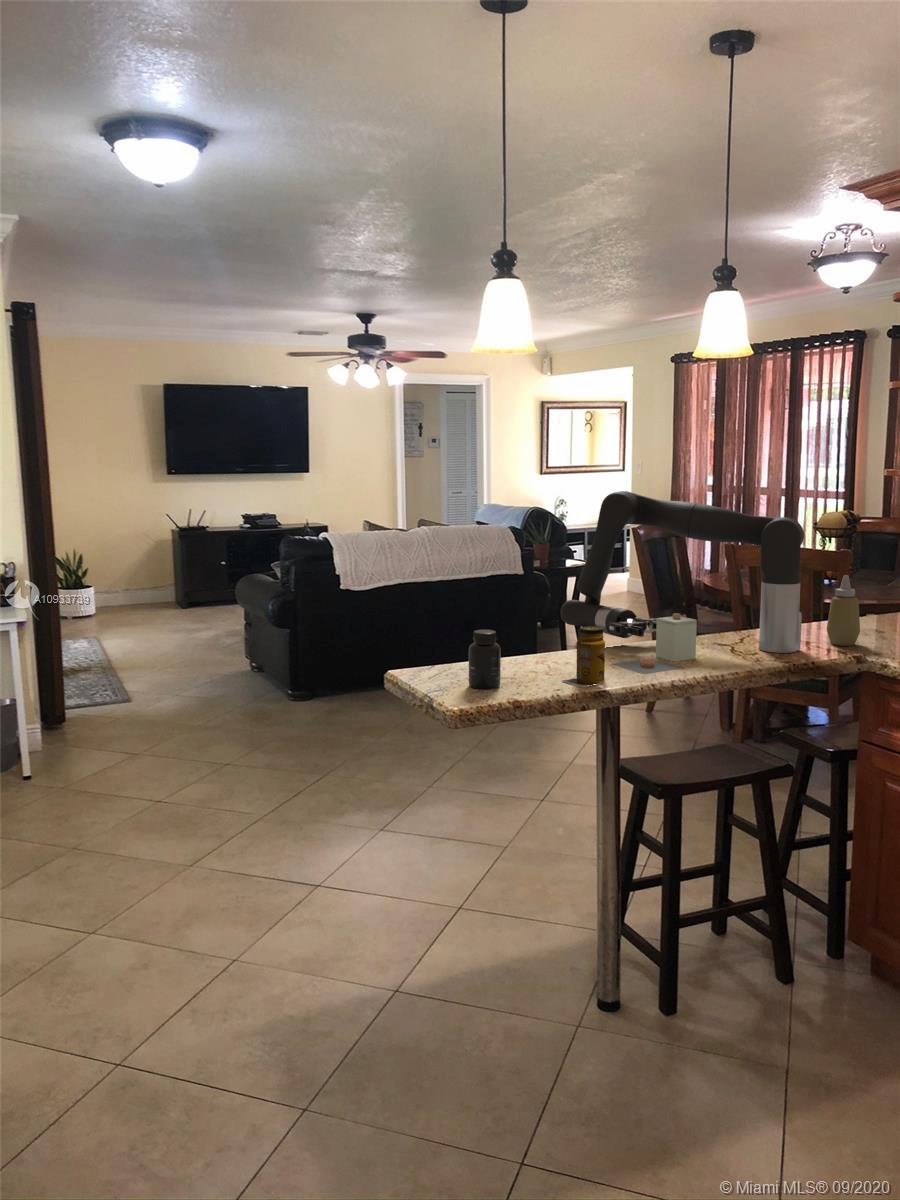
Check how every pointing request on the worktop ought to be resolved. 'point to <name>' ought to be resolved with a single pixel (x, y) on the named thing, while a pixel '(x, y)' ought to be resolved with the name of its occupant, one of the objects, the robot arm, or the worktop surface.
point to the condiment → (589, 657)
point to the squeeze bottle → (844, 616)
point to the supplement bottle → (484, 661)
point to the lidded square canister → (676, 638)
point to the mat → (636, 667)
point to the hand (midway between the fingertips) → (656, 630)
